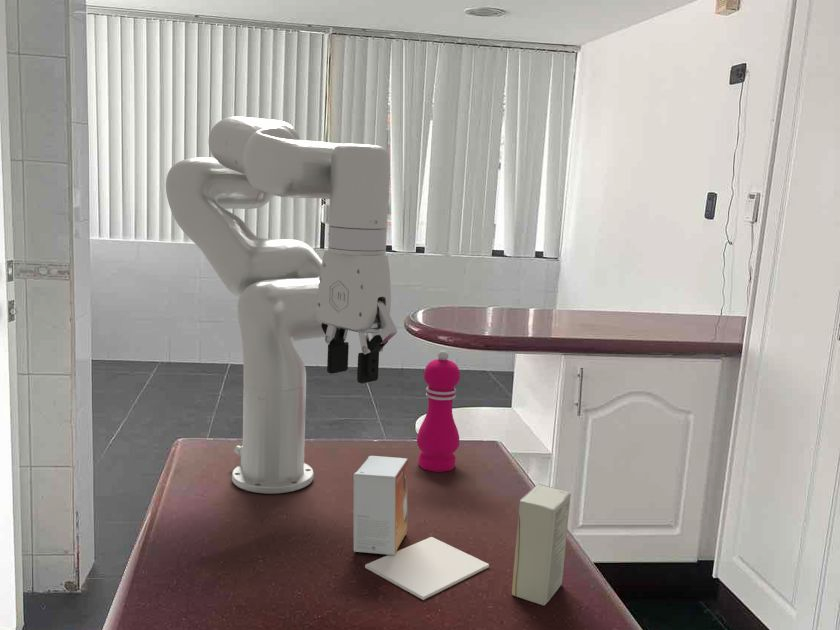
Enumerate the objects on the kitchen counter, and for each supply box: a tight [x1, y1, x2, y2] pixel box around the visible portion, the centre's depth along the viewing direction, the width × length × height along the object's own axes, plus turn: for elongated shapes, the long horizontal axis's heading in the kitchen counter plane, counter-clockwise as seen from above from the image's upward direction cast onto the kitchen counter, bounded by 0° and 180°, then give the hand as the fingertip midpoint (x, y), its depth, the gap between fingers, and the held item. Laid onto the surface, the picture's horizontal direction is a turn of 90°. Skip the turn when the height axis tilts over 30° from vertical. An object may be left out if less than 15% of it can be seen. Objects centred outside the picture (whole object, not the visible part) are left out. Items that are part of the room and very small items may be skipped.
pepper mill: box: [416, 349, 461, 473], centre depth 132 cm, size 7×7×20 cm
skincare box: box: [511, 483, 572, 606], centre depth 94 cm, size 6×4×12 cm
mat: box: [364, 536, 490, 601], centre depth 99 cm, size 10×12×1 cm
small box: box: [352, 455, 409, 556], centre depth 104 cm, size 8×6×10 cm
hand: (352, 375), depth 106 cm, fingers open, 5 cm apart
